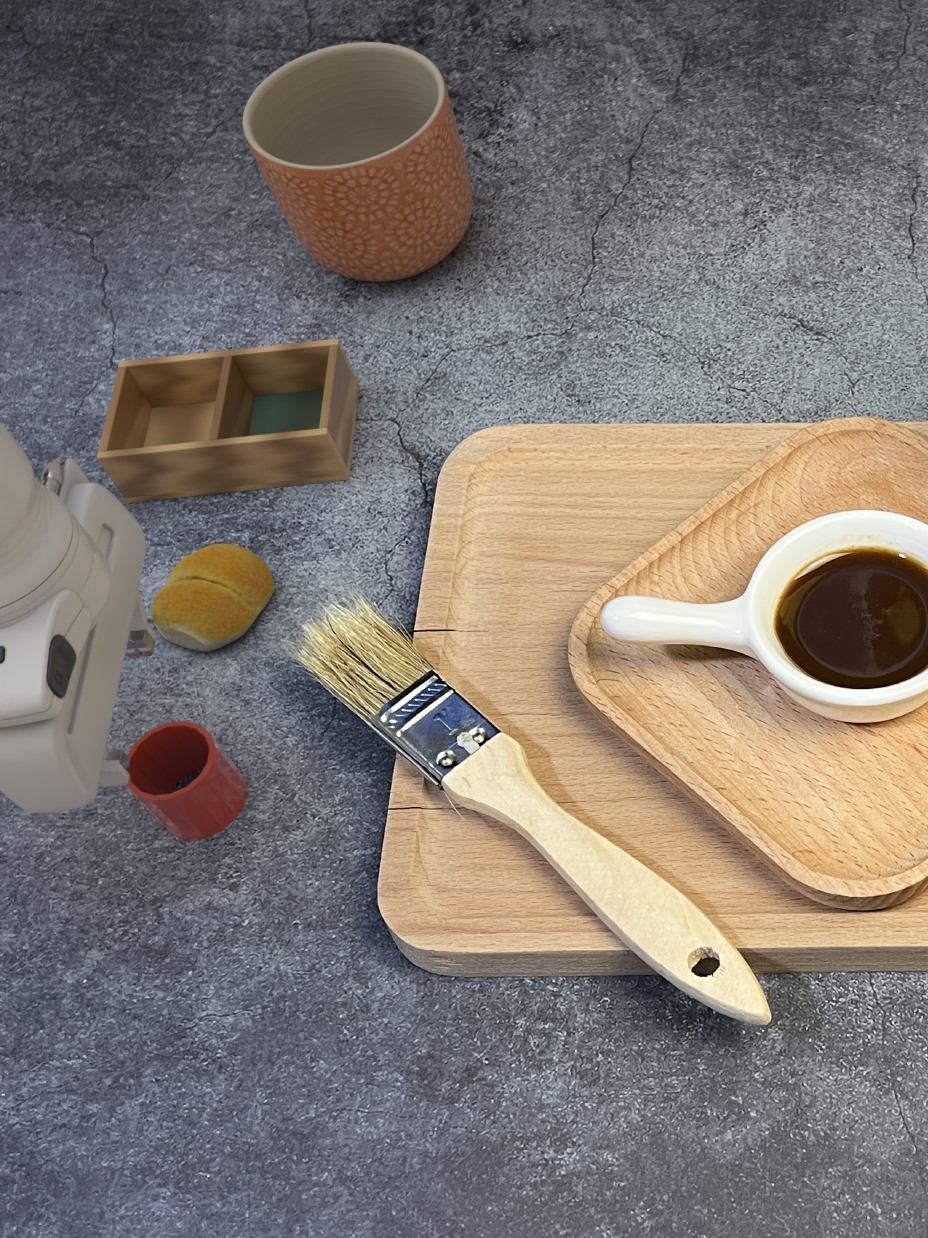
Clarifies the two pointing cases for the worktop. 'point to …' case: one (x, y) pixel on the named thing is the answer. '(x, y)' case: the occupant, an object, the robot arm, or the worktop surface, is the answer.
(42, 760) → the robot arm
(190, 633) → the bread roll
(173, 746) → the cup
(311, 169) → the planter
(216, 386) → the caddy
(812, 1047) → the worktop surface
